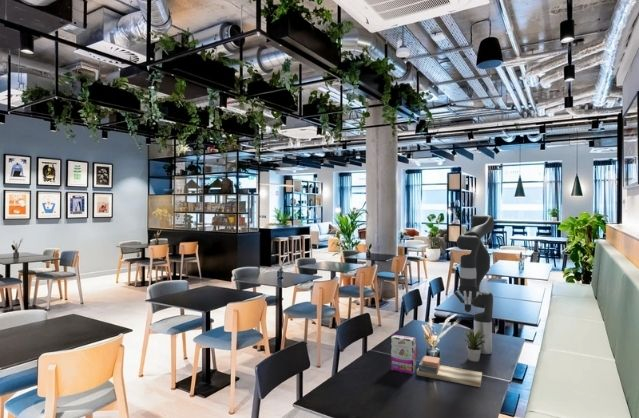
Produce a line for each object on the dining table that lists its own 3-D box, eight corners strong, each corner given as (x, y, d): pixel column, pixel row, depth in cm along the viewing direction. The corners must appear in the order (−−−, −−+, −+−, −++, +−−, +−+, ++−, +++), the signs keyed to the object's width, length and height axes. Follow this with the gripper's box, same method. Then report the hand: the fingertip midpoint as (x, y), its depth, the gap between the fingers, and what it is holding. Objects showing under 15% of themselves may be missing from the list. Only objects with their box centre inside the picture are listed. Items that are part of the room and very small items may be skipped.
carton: (424, 364, 195) (425, 355, 195) (439, 367, 192) (439, 357, 192) (422, 370, 188) (422, 360, 188) (437, 372, 186) (437, 363, 186)
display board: (421, 365, 198) (421, 355, 198) (482, 376, 186) (482, 366, 186) (416, 374, 188) (416, 364, 188) (480, 387, 175) (480, 375, 175)
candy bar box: (415, 371, 192) (416, 337, 192) (413, 374, 188) (413, 340, 188) (393, 366, 197) (393, 333, 197) (390, 370, 193) (390, 336, 193)
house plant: (484, 368, 196) (484, 335, 195) (456, 361, 204) (456, 330, 204) (491, 359, 207) (492, 328, 207) (464, 353, 215) (465, 323, 215)
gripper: (483, 276, 194) (483, 311, 194) (454, 274, 199) (454, 308, 200) (482, 279, 187) (481, 315, 187) (452, 276, 193) (452, 312, 193)
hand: (467, 311), depth 193 cm, fingers closed
